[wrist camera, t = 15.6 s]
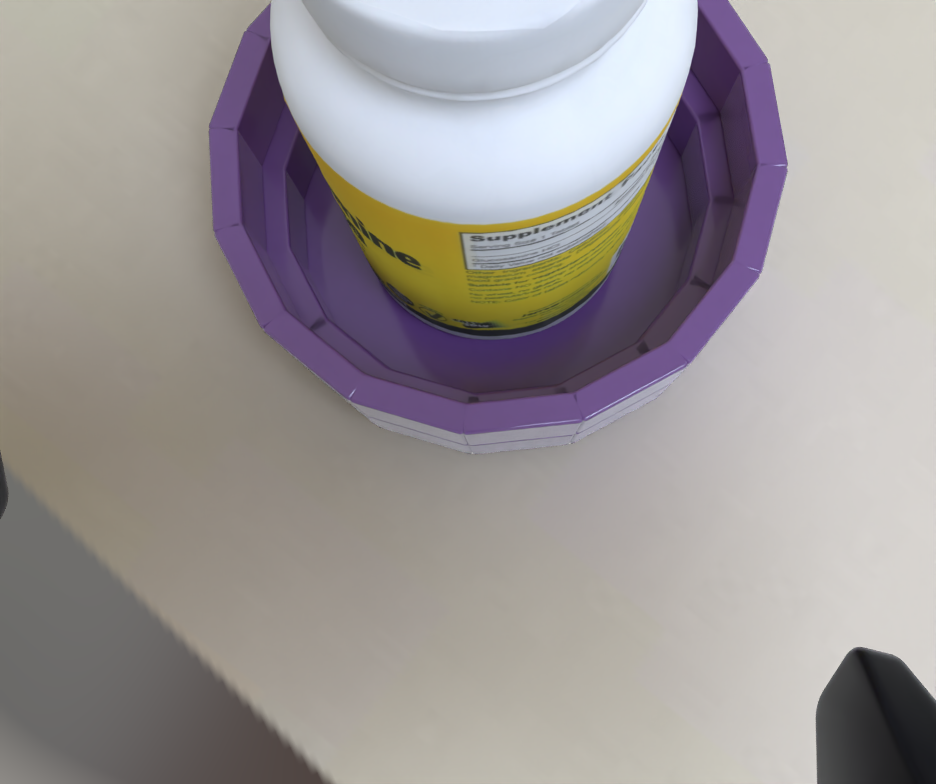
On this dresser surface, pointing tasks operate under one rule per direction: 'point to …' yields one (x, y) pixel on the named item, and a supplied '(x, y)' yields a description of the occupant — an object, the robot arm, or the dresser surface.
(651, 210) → the purple bowl
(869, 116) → the dresser surface
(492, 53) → the pill bottle
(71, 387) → the dresser surface
